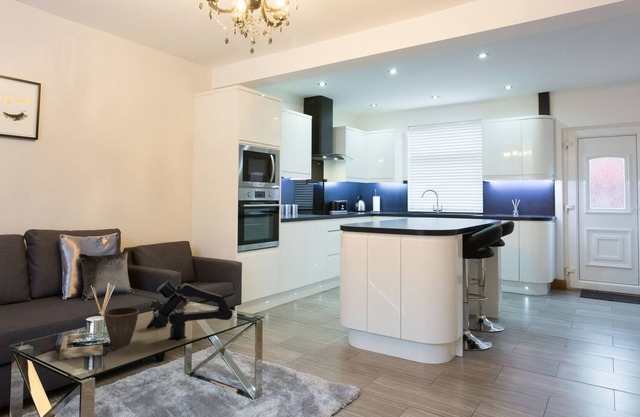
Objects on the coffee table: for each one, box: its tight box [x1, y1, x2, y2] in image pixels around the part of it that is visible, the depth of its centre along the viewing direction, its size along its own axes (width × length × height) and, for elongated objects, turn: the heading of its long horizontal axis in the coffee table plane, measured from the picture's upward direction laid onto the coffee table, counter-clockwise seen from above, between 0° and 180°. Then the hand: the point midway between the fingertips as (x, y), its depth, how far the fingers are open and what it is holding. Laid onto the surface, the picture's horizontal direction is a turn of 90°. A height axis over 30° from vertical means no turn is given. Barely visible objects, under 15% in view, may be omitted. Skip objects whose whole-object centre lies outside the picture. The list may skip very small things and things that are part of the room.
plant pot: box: [103, 307, 140, 348], centre depth 192 cm, size 15×15×16 cm
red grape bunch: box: [175, 294, 190, 310], centre depth 260 cm, size 18×10×10 cm, turn 154°
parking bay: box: [59, 331, 104, 360], centre depth 185 cm, size 16×22×4 cm
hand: (146, 328), depth 197 cm, fingers closed
